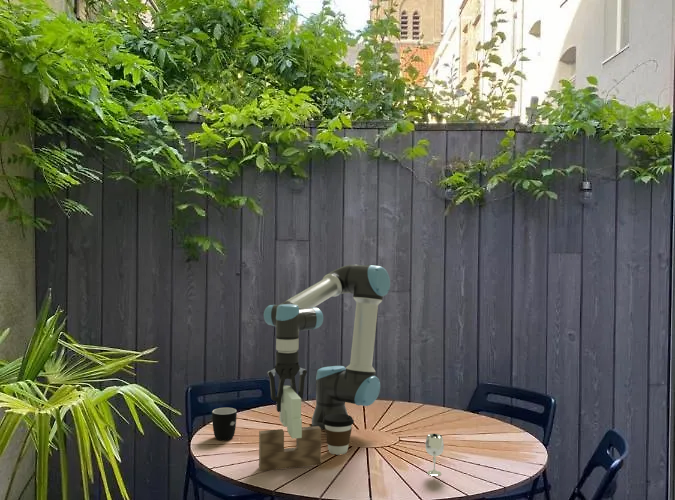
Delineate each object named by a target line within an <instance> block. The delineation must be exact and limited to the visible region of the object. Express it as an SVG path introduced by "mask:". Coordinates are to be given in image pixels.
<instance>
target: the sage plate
mask: <svg viewBox="0 0 675 500" xmlns="http://www.w3.org/2000/svg"><path fill="white" fill-rule="evenodd" d="M281 401H282V402H283V422H280V423H281V425H282V426H283V427H285V428H286V430H287V433H288V435H289V436H290V438H291V439H293V440H294V439H296V438H302V426H303V418H302V399H301V398H300V397H299V396H298V392H297V393H296V392H295V391H294V390H293V389H292V388H291V385H284V387H283V393H282V399H281Z"/></svg>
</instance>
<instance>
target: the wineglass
mask: <svg viewBox="0 0 675 500" xmlns="http://www.w3.org/2000/svg"><path fill="white" fill-rule="evenodd" d="M444 443H445V442H444V439H443V435H442V434H441V433H440V434H439V433H428V434H427V435H426V438H425V444H424V447H425V451H426V453H427V454H428V455H430V456H432V462H433V469H431V470H428V471H427V473H426V474H427V475H429V476H432V477H438V476H439V477H440V476H441V475H442V471H439V470H436V462H437V461H436V460H437V457H438V456H440V455H442V454H443V453H444V448H445V447H444V446H445V445H444Z"/></svg>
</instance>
